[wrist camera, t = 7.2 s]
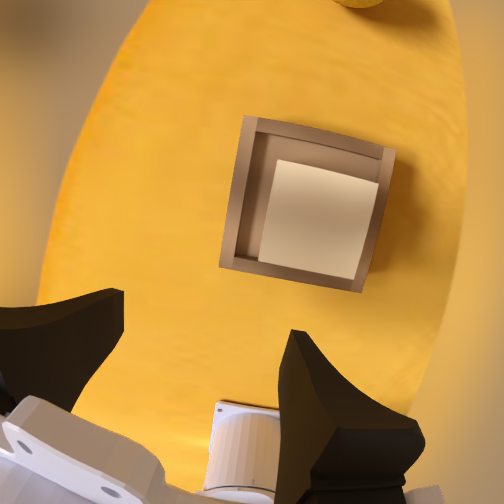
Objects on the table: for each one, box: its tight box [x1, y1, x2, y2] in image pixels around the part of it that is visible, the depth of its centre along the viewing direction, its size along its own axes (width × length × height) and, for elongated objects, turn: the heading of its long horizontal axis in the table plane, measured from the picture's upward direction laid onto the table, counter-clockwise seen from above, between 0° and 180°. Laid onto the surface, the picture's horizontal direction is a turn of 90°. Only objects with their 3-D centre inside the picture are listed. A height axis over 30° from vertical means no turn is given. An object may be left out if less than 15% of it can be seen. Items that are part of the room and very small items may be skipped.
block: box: [258, 159, 379, 280], centre depth 15 cm, size 4×4×5 cm
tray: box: [219, 115, 396, 293], centre depth 18 cm, size 9×9×3 cm
